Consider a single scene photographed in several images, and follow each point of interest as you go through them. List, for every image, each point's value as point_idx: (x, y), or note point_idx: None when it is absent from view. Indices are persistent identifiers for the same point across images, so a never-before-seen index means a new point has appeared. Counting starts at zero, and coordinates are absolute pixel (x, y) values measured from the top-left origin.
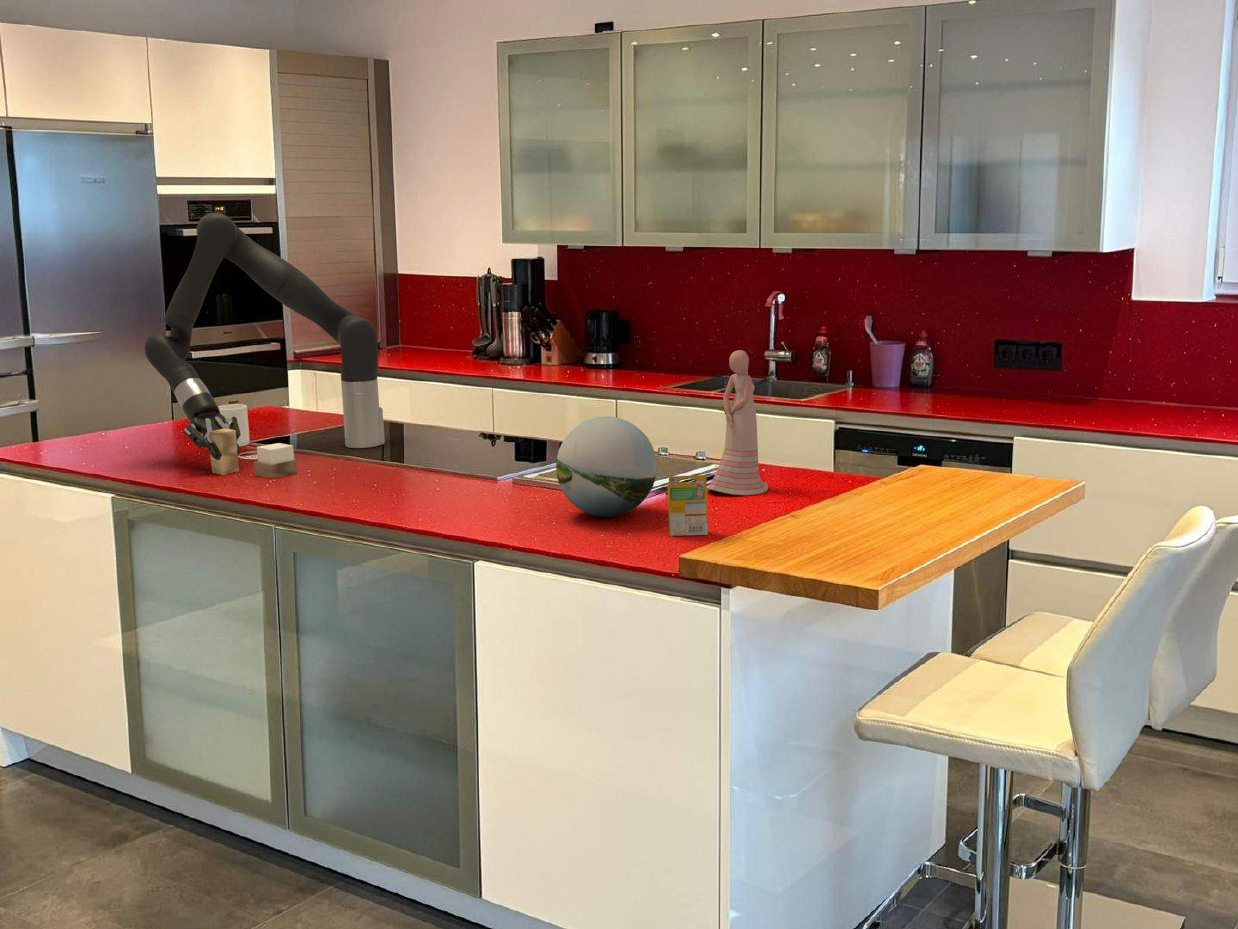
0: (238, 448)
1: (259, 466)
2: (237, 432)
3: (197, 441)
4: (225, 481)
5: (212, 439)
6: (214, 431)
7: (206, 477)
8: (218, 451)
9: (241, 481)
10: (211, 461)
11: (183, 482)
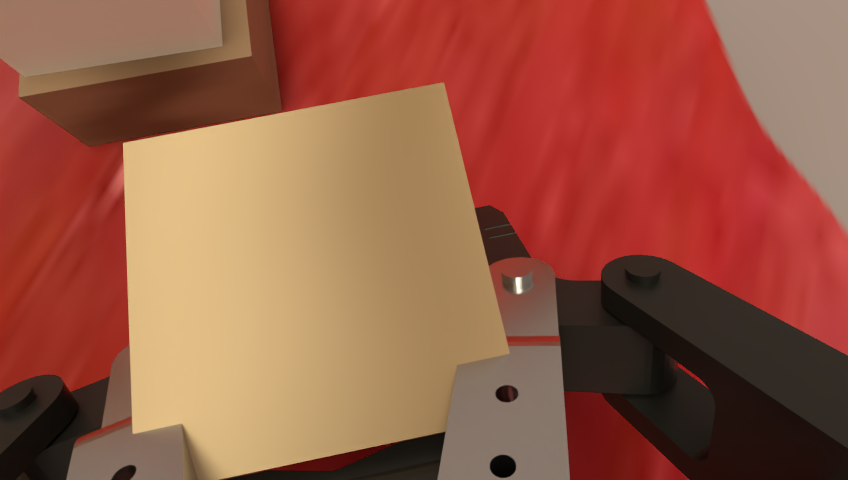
0: None
1: (253, 13)
2: (1, 423)
3: (686, 417)
4: (498, 61)
5: None
6: (433, 312)
7: (559, 259)
8: None
9: (423, 3)
10: None
11: (739, 210)
